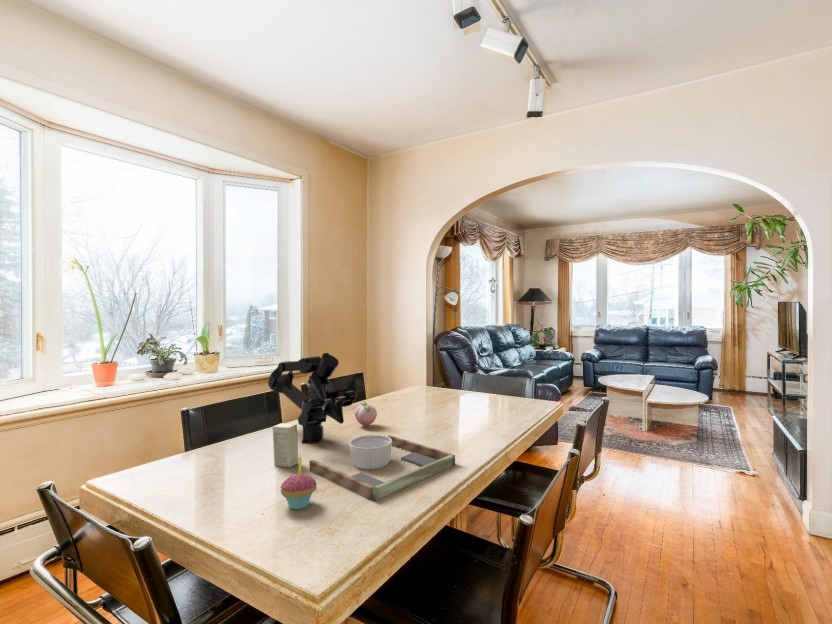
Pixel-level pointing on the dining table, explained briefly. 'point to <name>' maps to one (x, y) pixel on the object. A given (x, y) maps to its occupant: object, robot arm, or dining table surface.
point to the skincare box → (285, 445)
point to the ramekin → (370, 451)
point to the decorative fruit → (365, 414)
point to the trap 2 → (418, 459)
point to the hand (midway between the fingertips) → (342, 422)
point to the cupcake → (298, 489)
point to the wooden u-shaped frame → (390, 486)
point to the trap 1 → (367, 479)
